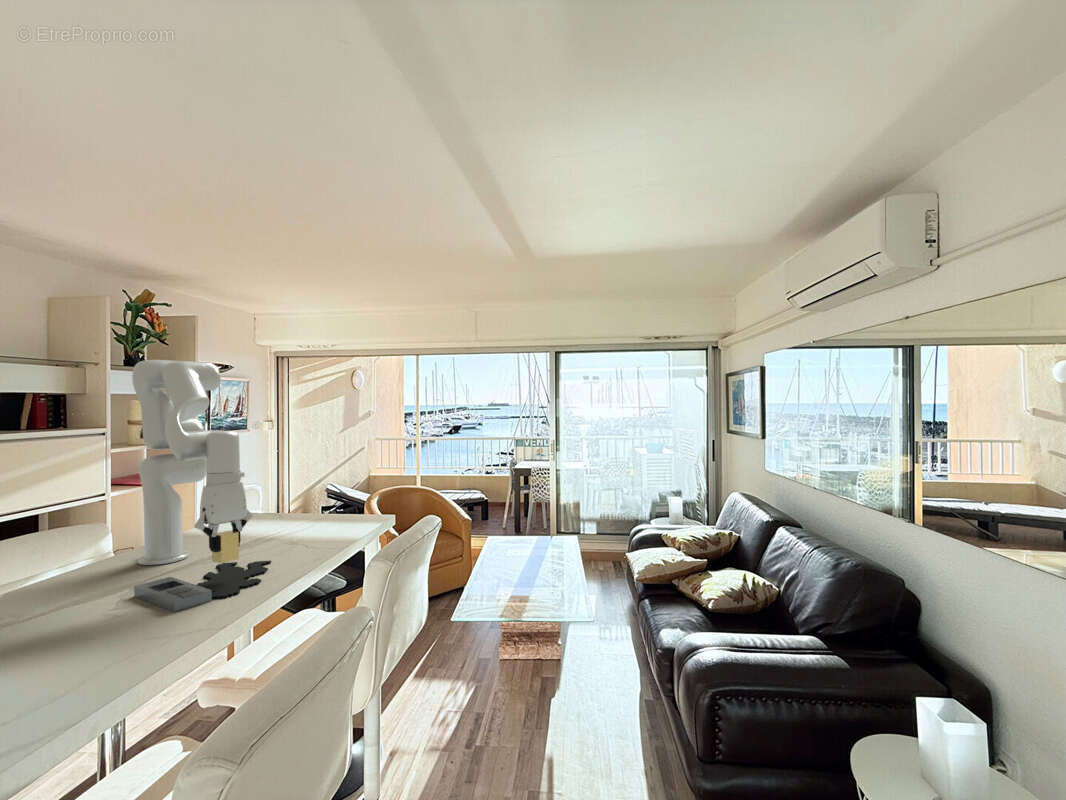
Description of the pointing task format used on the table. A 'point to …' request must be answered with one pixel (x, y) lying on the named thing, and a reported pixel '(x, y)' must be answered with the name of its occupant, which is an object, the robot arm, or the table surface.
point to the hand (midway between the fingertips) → (225, 548)
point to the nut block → (227, 547)
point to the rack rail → (173, 594)
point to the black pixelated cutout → (233, 578)
